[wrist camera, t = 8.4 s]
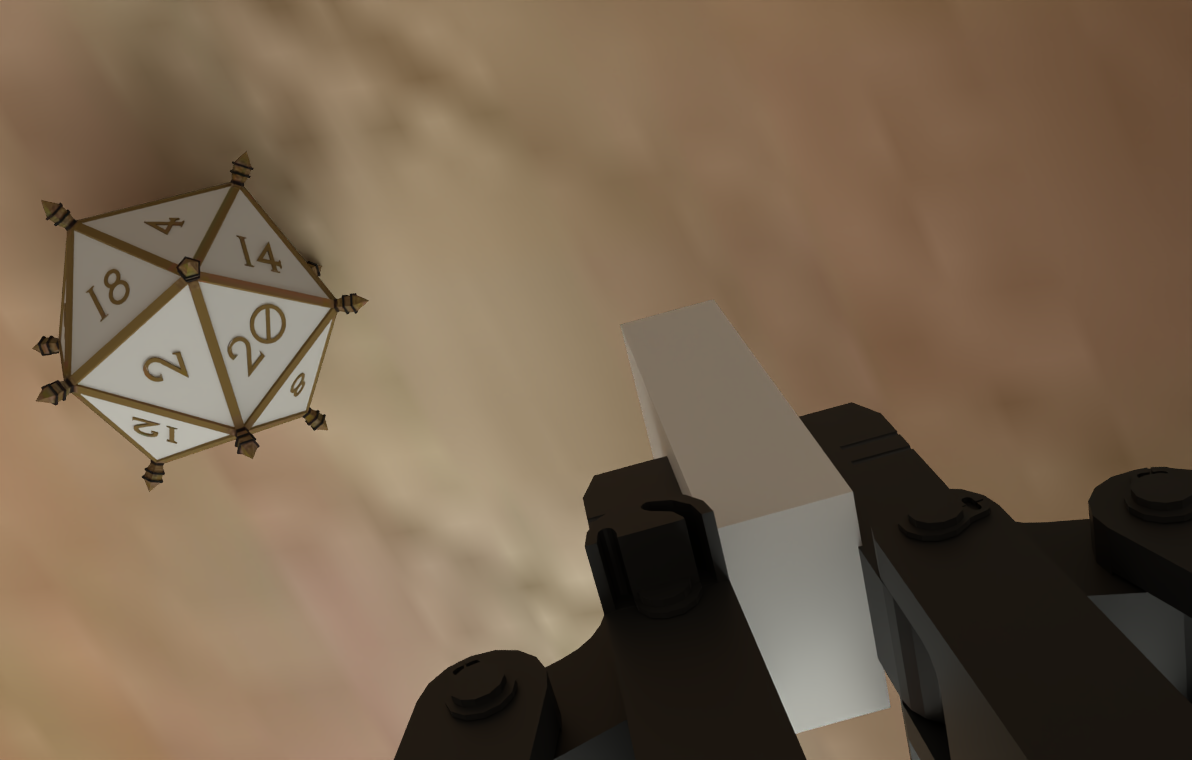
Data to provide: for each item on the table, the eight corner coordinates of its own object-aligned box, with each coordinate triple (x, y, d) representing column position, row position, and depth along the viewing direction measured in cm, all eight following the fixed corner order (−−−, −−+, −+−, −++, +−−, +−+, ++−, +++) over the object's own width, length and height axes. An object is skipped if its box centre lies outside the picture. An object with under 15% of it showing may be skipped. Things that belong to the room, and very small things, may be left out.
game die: (236, 196, 37) (234, 35, 27) (396, 392, 37) (448, 296, 27) (-11, 348, 33) (-110, 222, 24) (165, 564, 33) (135, 521, 24)
